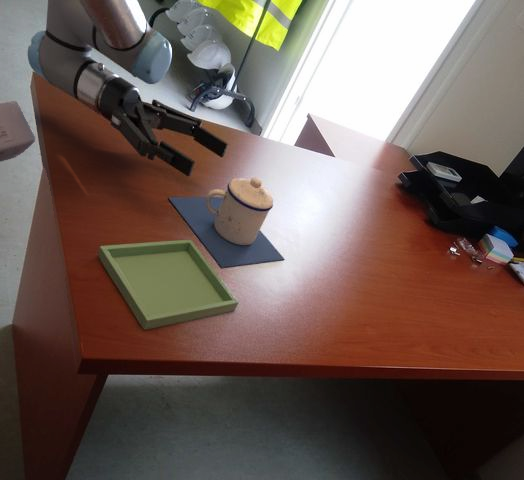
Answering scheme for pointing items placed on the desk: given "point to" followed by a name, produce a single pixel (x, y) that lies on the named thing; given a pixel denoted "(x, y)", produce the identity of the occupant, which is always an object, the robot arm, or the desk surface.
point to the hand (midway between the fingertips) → (209, 159)
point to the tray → (166, 282)
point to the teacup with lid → (241, 210)
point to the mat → (216, 245)
